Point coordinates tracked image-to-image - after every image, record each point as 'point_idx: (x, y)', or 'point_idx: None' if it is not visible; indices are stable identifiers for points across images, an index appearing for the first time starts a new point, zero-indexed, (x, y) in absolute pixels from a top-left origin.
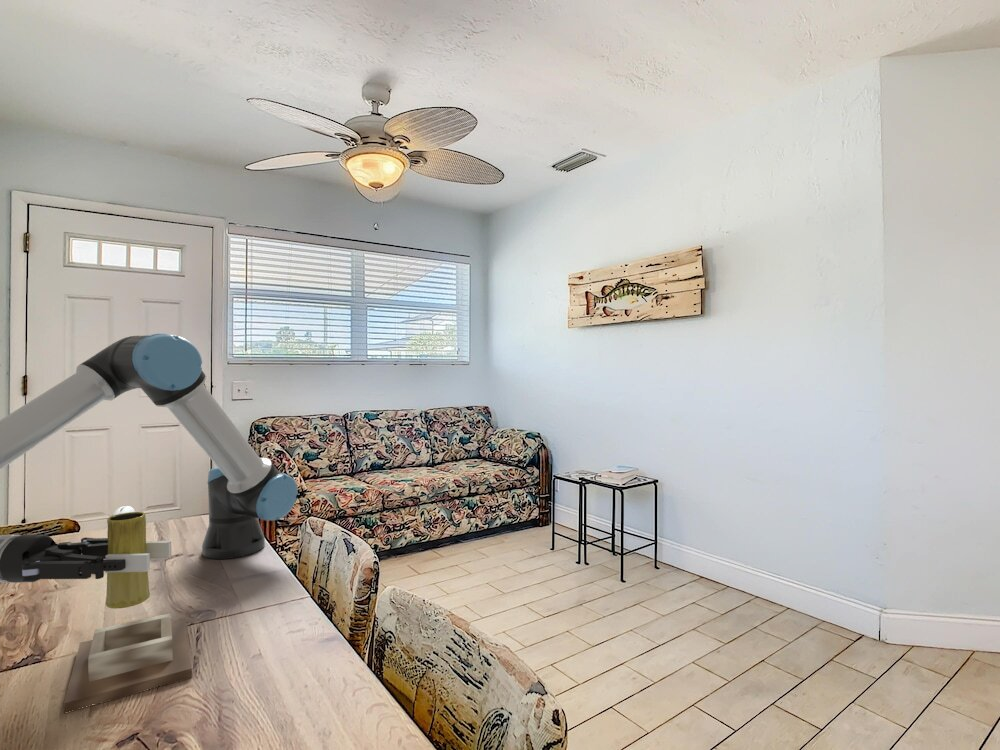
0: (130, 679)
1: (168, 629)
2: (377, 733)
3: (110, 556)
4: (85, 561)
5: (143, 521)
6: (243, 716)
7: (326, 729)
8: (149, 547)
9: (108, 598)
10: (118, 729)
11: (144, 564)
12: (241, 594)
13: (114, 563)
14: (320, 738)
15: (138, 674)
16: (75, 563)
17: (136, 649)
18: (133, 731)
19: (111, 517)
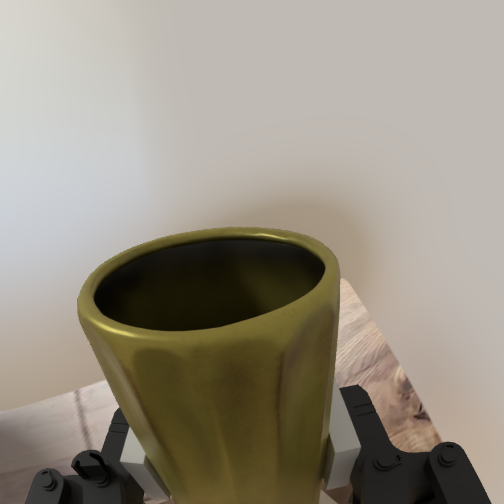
0: (347, 491)
1: None
2: (344, 287)
3: (353, 428)
4: (452, 454)
5: (197, 269)
6: (357, 354)
7: (350, 306)
8: None
9: None
10: (419, 438)
11: None
12: (25, 462)
13: (370, 404)
14: (360, 305)
15: (332, 490)
16: (476, 482)
17: (321, 490)
18: (415, 422)
19: (209, 331)
